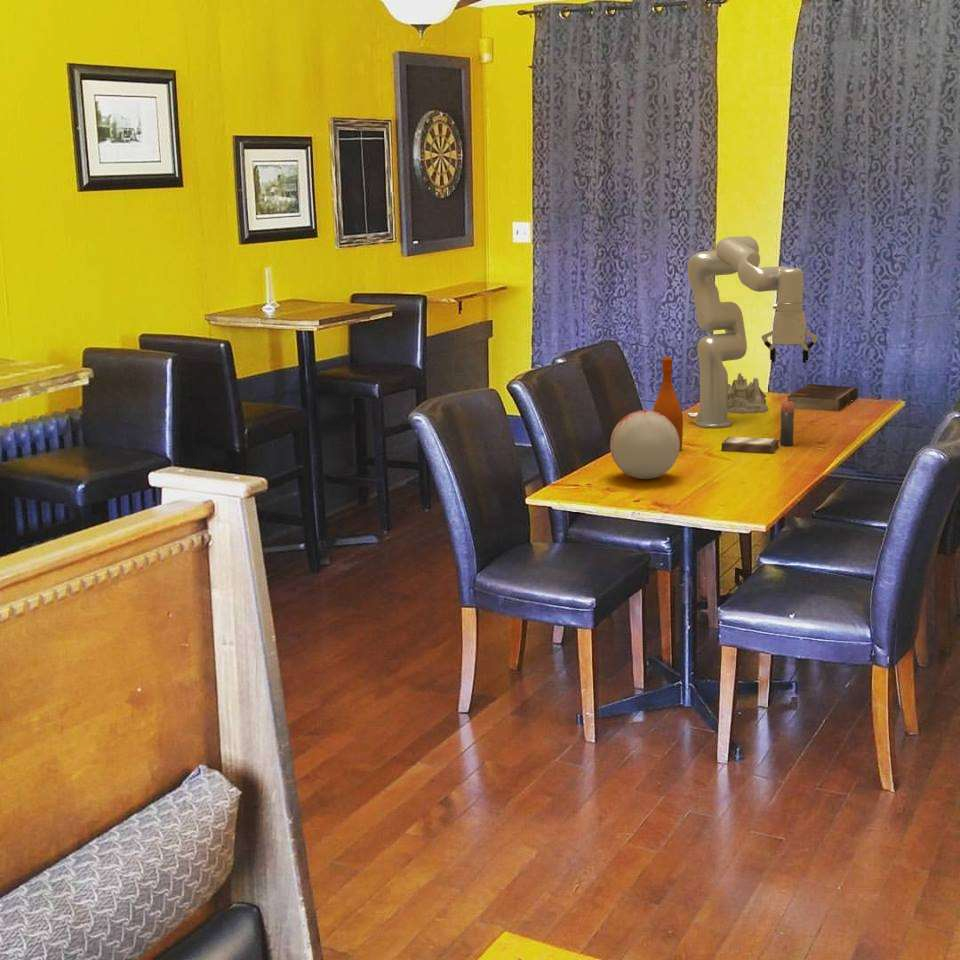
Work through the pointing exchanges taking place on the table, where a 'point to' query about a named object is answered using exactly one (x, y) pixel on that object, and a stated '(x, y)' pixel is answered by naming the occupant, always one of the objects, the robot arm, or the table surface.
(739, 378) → the miniature castle
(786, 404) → the marker
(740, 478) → the table surface
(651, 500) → the table surface
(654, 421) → the decorative orb
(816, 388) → the hardback book
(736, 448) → the picture frame
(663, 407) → the wine bottle
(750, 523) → the table surface
